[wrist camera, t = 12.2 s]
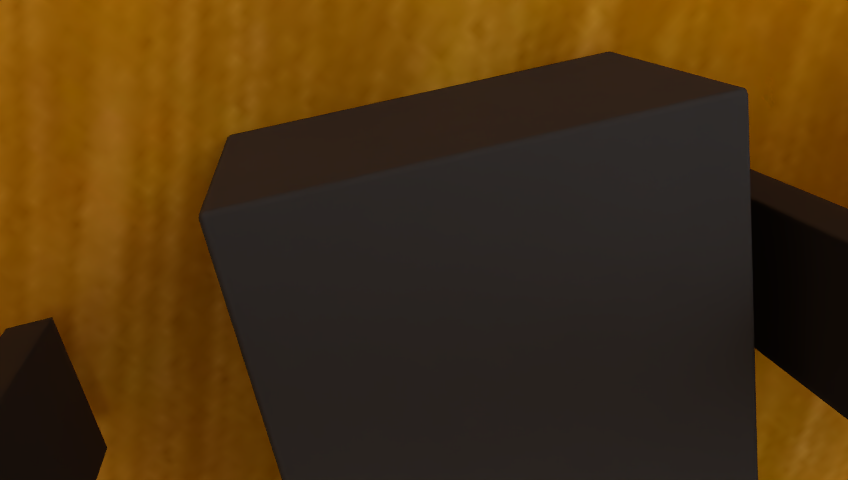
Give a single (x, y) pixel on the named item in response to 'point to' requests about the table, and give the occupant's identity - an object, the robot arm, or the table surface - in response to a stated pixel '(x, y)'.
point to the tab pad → (500, 279)
